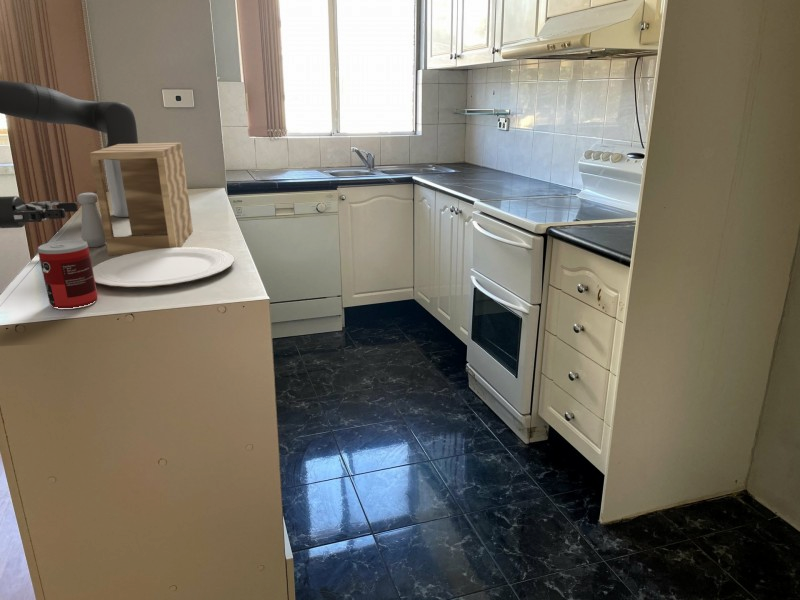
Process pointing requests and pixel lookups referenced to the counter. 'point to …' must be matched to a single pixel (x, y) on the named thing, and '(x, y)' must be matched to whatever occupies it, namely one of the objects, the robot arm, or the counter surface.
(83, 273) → the canned food
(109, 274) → the plate
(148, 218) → the open-side box
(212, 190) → the counter surface
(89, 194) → the salt shaker
